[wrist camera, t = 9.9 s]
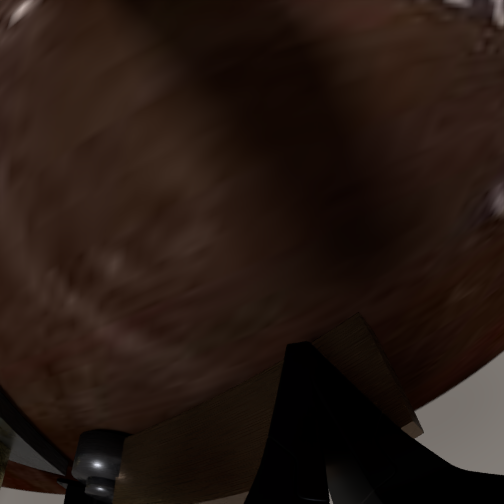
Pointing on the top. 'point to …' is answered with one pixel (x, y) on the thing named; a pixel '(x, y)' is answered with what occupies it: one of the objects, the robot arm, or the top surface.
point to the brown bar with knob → (227, 432)
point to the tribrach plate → (25, 443)
